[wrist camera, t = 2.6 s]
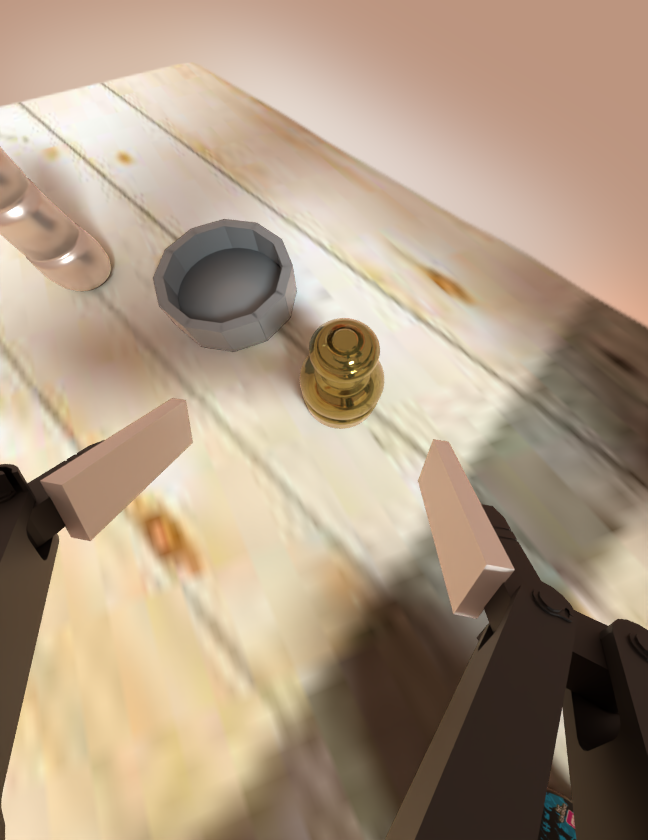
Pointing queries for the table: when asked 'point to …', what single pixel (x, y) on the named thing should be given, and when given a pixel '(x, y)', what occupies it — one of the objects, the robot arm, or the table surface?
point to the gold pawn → (342, 373)
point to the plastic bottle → (48, 233)
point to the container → (557, 818)
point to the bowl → (227, 284)
